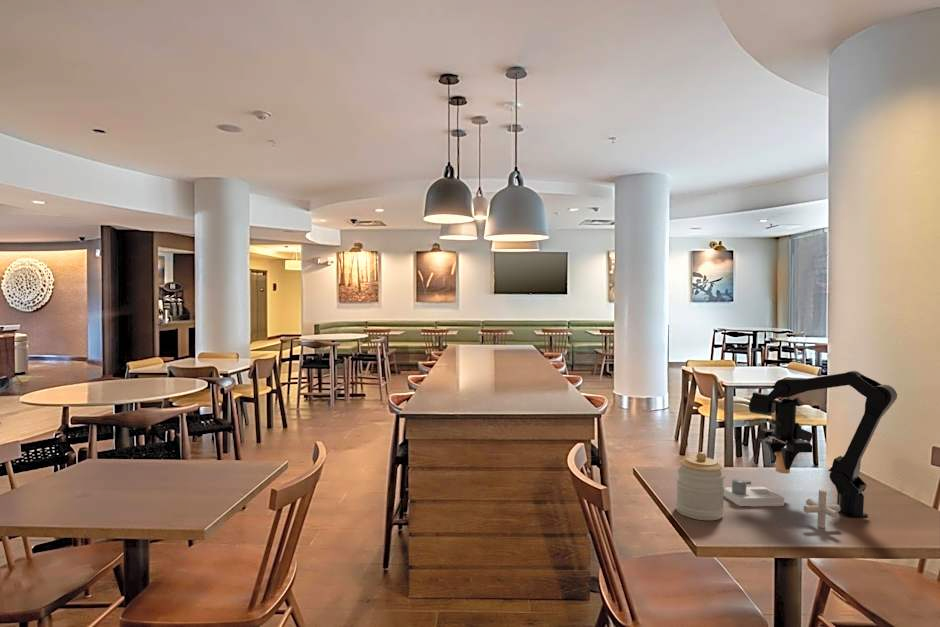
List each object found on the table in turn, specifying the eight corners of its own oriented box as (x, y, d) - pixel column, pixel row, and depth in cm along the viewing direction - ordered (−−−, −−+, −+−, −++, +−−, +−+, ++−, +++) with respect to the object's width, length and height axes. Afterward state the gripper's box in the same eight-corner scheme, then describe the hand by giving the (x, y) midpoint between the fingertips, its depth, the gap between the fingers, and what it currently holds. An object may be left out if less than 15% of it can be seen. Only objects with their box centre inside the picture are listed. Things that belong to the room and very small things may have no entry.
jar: (665, 507, 177) (668, 448, 176) (701, 503, 182) (703, 445, 181) (696, 523, 165) (699, 460, 164) (733, 518, 169) (736, 456, 169)
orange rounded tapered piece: (792, 473, 187) (793, 454, 187) (779, 473, 187) (779, 454, 187) (784, 469, 191) (785, 450, 191) (771, 469, 191) (771, 451, 191)
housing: (783, 505, 181) (784, 486, 180) (740, 506, 179) (740, 486, 179) (763, 494, 191) (764, 475, 190) (722, 495, 189) (722, 476, 189)
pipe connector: (823, 519, 171) (825, 484, 170) (851, 533, 161) (853, 496, 160) (792, 520, 169) (793, 485, 168) (818, 534, 159) (820, 497, 159)
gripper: (830, 425, 180) (827, 476, 181) (789, 412, 199) (787, 458, 199) (795, 425, 179) (793, 476, 179) (758, 412, 197) (756, 459, 198)
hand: (782, 467), depth 189 cm, fingers closed on orange rounded tapered piece, 4 cm apart
